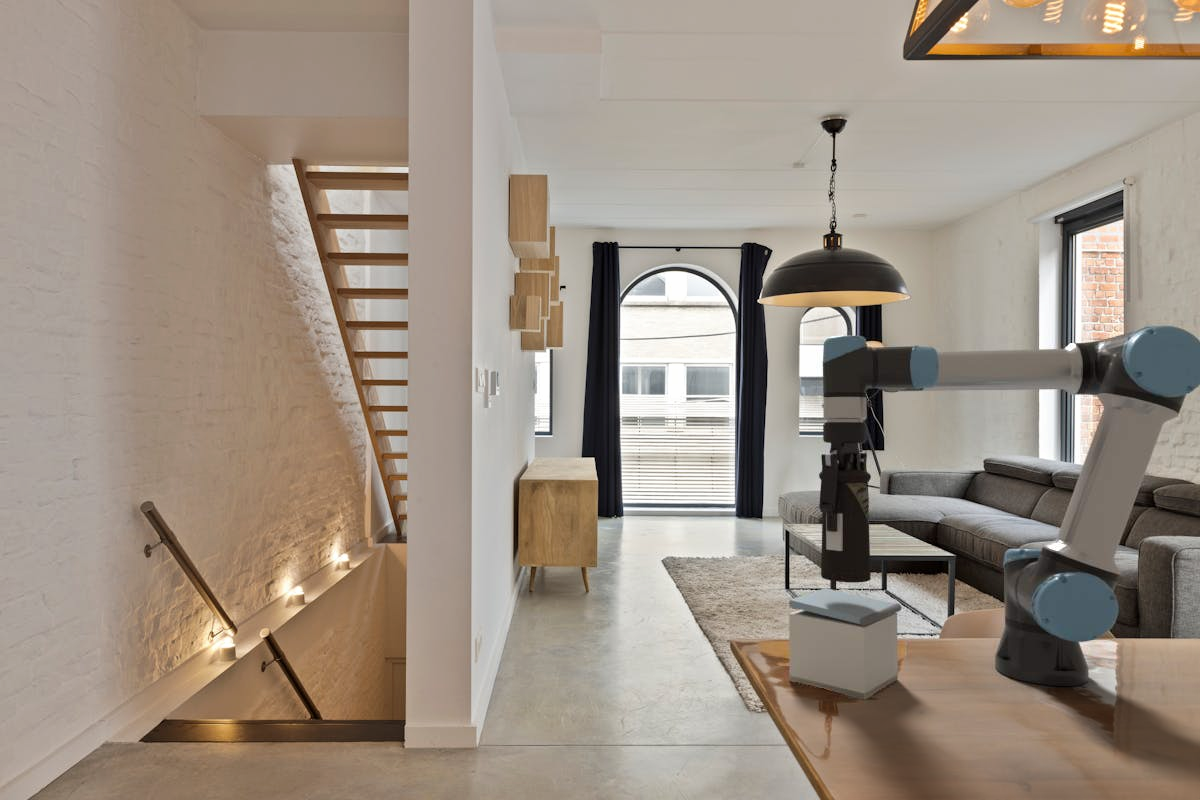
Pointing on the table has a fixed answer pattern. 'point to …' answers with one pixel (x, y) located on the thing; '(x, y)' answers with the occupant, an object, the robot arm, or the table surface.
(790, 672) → the box
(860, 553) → the container
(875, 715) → the table surface
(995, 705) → the table surface
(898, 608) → the lid
